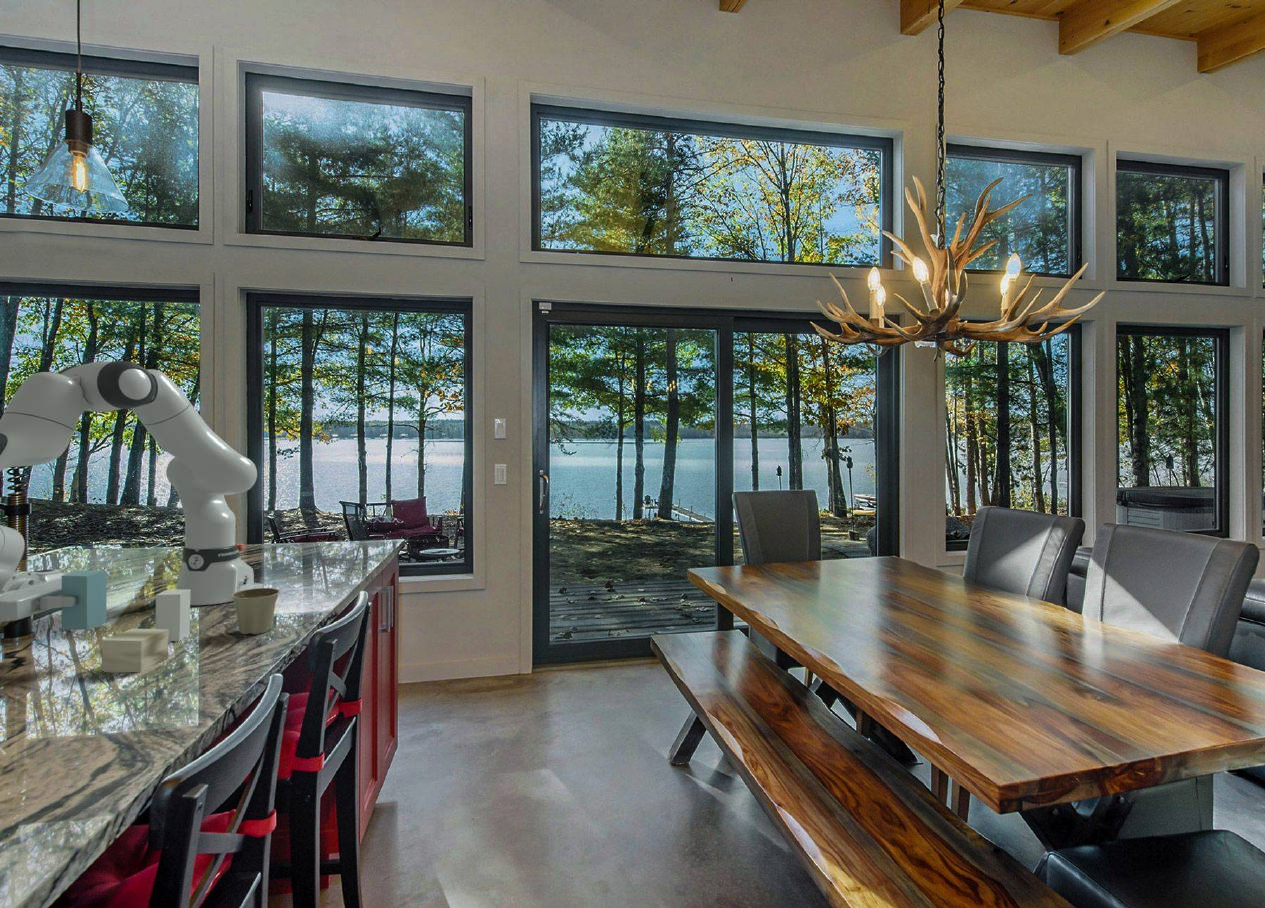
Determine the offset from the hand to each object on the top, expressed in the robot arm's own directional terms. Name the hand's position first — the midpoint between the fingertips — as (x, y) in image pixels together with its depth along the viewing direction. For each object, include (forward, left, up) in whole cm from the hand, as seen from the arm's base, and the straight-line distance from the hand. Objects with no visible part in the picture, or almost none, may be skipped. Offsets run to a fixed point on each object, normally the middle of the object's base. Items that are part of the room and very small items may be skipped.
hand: (89, 596), depth 117 cm
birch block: (0, +9, -13) cm, 16 cm away
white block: (-16, +5, -13) cm, 21 cm away
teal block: (0, -1, -6) cm, 6 cm away
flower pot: (-22, +19, -13) cm, 32 cm away
